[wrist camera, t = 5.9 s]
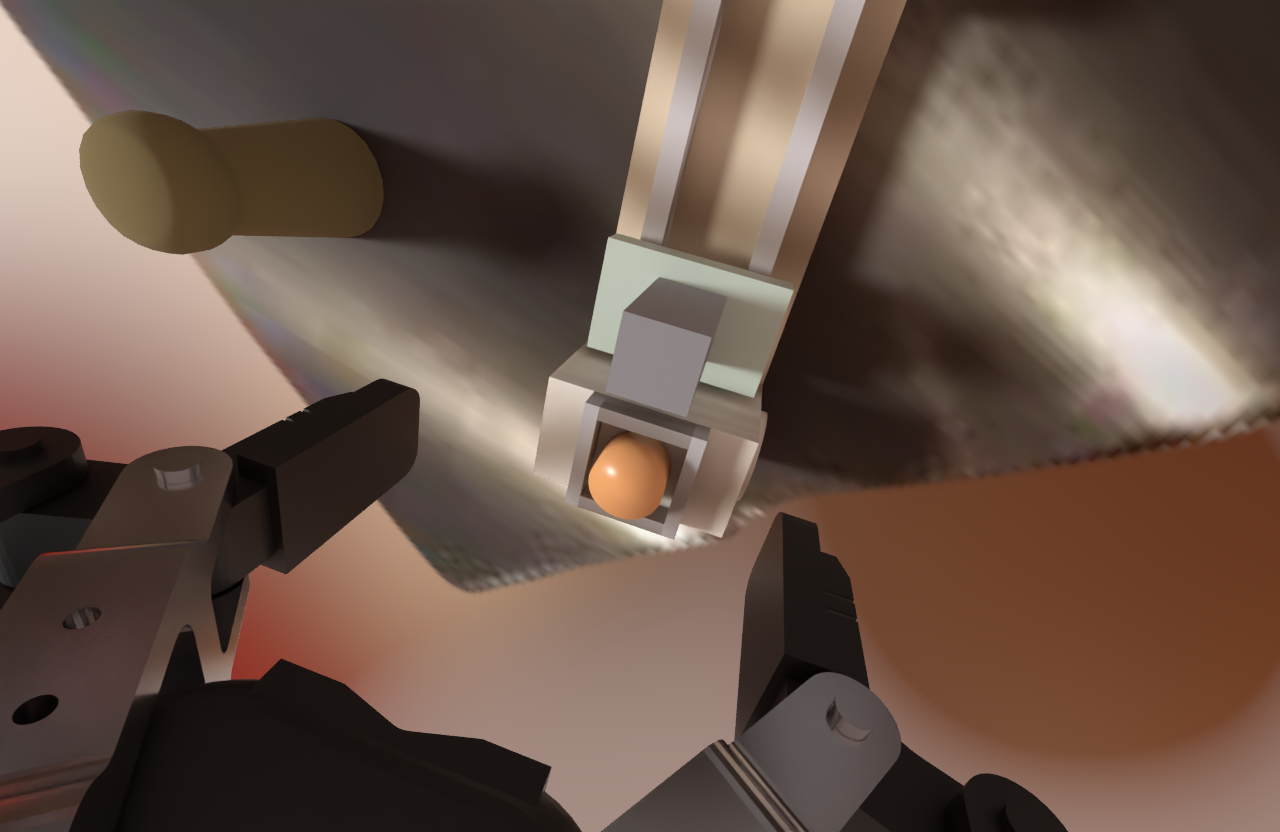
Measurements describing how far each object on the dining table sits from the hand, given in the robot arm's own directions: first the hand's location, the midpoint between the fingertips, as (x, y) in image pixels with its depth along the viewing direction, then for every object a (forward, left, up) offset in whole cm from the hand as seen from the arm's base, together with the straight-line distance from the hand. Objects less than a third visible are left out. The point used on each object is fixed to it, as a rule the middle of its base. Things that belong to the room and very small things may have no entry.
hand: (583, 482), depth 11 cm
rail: (-5, 0, -18) cm, 19 cm away
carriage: (0, 0, -15) cm, 15 cm away
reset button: (+5, 0, -10) cm, 11 cm away
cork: (-1, -21, -19) cm, 28 cm away
